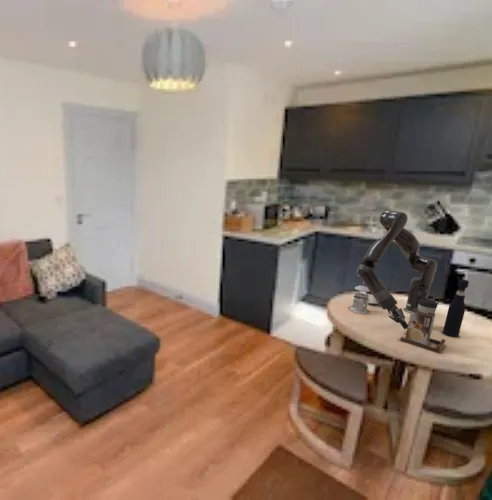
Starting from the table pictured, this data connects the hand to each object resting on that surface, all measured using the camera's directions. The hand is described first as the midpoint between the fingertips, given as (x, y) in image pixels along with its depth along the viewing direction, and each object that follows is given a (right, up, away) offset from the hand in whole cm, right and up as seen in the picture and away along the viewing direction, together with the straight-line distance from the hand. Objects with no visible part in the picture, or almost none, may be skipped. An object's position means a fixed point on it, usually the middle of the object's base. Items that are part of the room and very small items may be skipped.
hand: (407, 328), depth 186 cm
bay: (+5, -7, -3) cm, 9 cm away
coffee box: (+3, -7, -2) cm, 8 cm away
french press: (-5, +3, +33) cm, 33 cm away
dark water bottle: (+26, -5, +5) cm, 27 cm away
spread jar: (+7, +6, +44) cm, 46 cm away
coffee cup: (+18, -2, +14) cm, 23 cm away
